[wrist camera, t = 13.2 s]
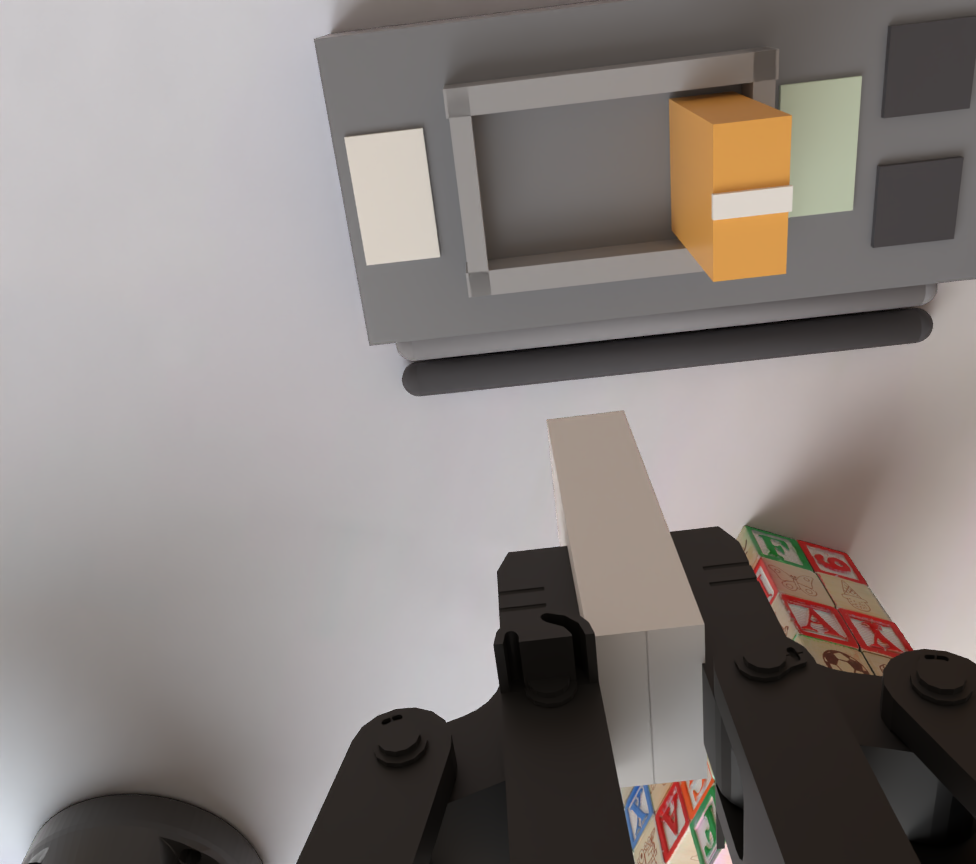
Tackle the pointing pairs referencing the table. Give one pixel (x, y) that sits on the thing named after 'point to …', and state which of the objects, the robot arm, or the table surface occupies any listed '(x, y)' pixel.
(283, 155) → the table surface
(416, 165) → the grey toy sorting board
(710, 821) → the stack of blocks
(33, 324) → the table surface
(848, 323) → the grey ledge with rod
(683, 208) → the breaker lever
